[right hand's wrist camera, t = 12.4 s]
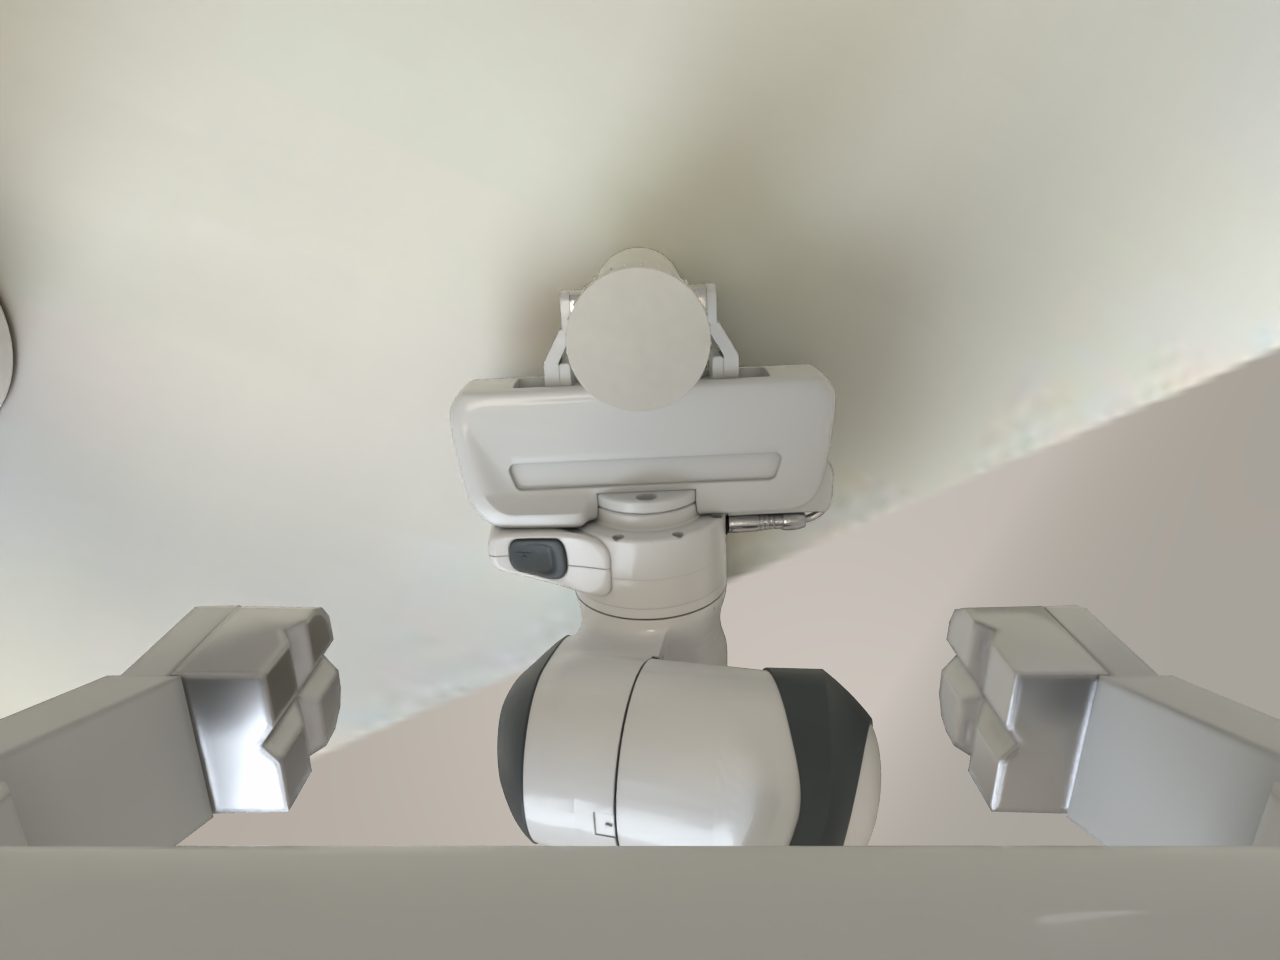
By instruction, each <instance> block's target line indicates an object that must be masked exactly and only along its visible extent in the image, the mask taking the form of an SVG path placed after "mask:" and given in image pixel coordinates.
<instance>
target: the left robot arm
mask: <svg viewBox="0 0 1280 960" xmlns="http://www.w3.org/2000/svg"><path fill="white" fill-rule="evenodd" d="M689 286H690V287H691V289H692V290H693V291H694V292H697V293H698V295H699V296H700V298H698V299H699V300H700V302H701V304H702V306H705V308H706V309H707V313H706V315H707V318H708V321H709V323H710V325H711V329H710V332H711V335H712V337H713V338H714V340H715V342H716V343H717V345H718V347H719V348H720V350H718V349H711V350H710V354H709V369H705V370H704V372H703V374H702V376H701V377H700V379H699V380H698V382H697V383H696V384H695V386H694V387H693V388H692V389H691V390H690V391H689V392H688V393H687V394H686V395H685V396H683V397H682V398H681V399H679V400H678V401H676V402H674V403H673V404H671V405H669V406H666V407H664V408H661V409H658V410H654V411H648V412H629V411H623V410H619V409H616V408H613V407H610V406H608V405H606V404H604V403H602V402H600V401H599V400H598V399H596V398H595V397H593V396H592V395H591V394H590V393H589V392H588V391H587V390H586V389H585V388H584V387H583V386H582V385H581V383H580V382H579V380H578V379H577V377H576V376H575V374H574V372H573V370H572V369H571V365H570V362H569V359H568V356H564V357H563V358H562V355H563V352H564V350H565V348H566V338H565V334H566V329H567V324H568V322H567V318H568V316H569V315H570V314H571V311H572V309H573V307H574V306H572V304H573V303H574V301H575V300H578V298H579V296H580V295H581V293H582V292H581V290H563V291H561V292H560V312H561V324H562V326H561V328H560V330H559V332H558V334H557V336H556V338H555V340H554V342H553V344H552V347H551V349H550V351H549V353H548V355H547V357H546V359H545V361H544V363H543V367H544V376H540V377H518V378H496V379H476V380H472V381H470V382H469V383H468V384H467V385H466V386H465V387H464V388H463V389H462V390H461V391H460V392H459V393H458V395H457V396H456V398H455V399H454V401H453V402H452V405H451V408H450V423H451V430H452V436H453V441H454V446H455V451H456V456H457V460H458V464H459V468H460V472H461V475H462V479H463V482H464V486H465V489H466V492H467V495H468V498H469V500H470V502H471V504H472V506H473V508H474V509H475V510H476V512H477V513H478V514H479V515H480V516H481V517H482V518H483V519H484V520H485V521H487V522H489V523H491V524H492V527H491V531H490V536H489V547H488V549H489V557H490V561H491V563H492V565H493V566H494V567H496V568H497V569H499V570H502V571H505V572H509V573H513V574H517V575H521V576H526V577H530V578H534V579H538V580H542V581H546V582H550V583H553V584H557V585H561V586H564V587H567V588H571V589H574V590H575V591H576V594H577V597H578V600H579V603H580V607H581V610H582V623H581V627H580V630H579V631H578V633H576V634H575V635H573V636H570V635H567V636H565V637H564V638H562V639H561V640H560V641H558V642H557V643H556V644H555V645H554V646H552V647H551V648H550V649H549V650H548V651H547V652H546V653H544V654H543V655H542V656H541V657H540V658H539V659H538V660H537V661H536V662H535V663H534V664H533V665H532V666H530V667H529V668H528V669H527V670H526V671H525V672H524V673H523V674H522V675H521V676H520V677H519V678H518V679H517V680H516V682H515V683H514V684H513V686H512V688H511V689H510V691H509V693H508V695H507V697H506V699H505V701H504V704H503V706H502V710H501V714H500V720H499V728H498V745H497V750H498V768H499V776H500V781H501V785H502V788H503V792H504V795H505V798H506V800H507V803H508V806H509V808H510V811H511V813H512V815H513V817H514V819H515V821H516V822H517V824H518V825H519V827H520V828H521V830H522V831H523V832H524V834H525V835H526V836H527V837H528V838H529V839H530V840H531V841H532V842H533V843H535V844H538V843H539V844H543V845H546V846H867V845H868V843H869V840H870V838H871V835H872V832H873V829H874V825H875V822H876V818H877V812H878V807H879V801H880V790H881V763H880V753H879V747H878V742H877V738H876V735H875V732H874V729H873V724H872V718H871V717H870V716H869V714H868V713H867V712H866V711H865V709H864V708H863V707H862V706H861V705H860V704H859V703H858V701H857V700H856V699H855V698H854V697H853V696H852V695H851V694H850V693H849V692H848V691H847V690H846V689H845V688H844V687H843V686H842V685H840V684H839V683H838V682H837V681H836V680H835V679H834V678H832V677H831V676H830V675H829V674H828V673H827V672H825V671H824V670H823V669H797V668H764V669H763V670H757V669H748V668H738V667H728V666H727V643H726V639H725V635H724V632H723V630H722V627H721V622H720V611H721V607H722V604H723V601H724V597H725V593H726V534H727V533H736V532H753V531H759V530H760V531H761V530H764V529H765V530H767V529H773V528H774V529H782V530H795V529H801V528H804V527H805V525H806V522H810V521H812V520H815V519H817V518H818V517H820V516H821V515H822V514H823V513H824V512H825V511H826V510H827V509H828V508H829V506H830V503H831V500H832V493H833V470H832V466H831V464H830V462H829V461H828V459H827V458H828V453H829V448H830V443H831V437H832V430H833V423H834V414H835V402H836V394H835V390H834V387H833V386H832V384H831V383H830V381H829V380H828V379H827V377H826V376H825V375H824V374H823V373H821V372H820V371H819V370H818V369H817V368H815V367H814V366H812V365H809V364H798V365H777V366H755V367H739V354H738V352H737V351H736V349H735V347H734V346H733V344H732V342H731V341H730V339H729V337H728V336H727V334H726V332H725V330H724V329H723V327H722V325H721V324H720V322H719V320H718V319H717V291H716V285H715V284H714V283H710V284H692V285H689ZM12 372H13V348H12V341H11V336H10V331H9V327H8V324H7V321H6V318H5V315H4V312H3V310H2V308H1V305H0V407H1V406H2V404H3V402H4V400H5V398H6V396H7V393H8V390H9V387H10V383H11V378H12ZM805 512H813V513H811V514H808V515H805ZM726 513H727V516H726Z"/></svg>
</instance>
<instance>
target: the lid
mask: <svg viewBox="0 0 1280 960" xmlns="http://www.w3.org/2000/svg"><path fill="white" fill-rule="evenodd" d="M581 292H582V293H581V295H580V296H579V298H578V300H575V301H574V303H573V304H572V306H574V307H573V309H572V311H571V314H570V315H569V316H568V318H567V322H568V324H567V329H566V334H565V338H566V350H567V351H566V354H567V355H568V359H569V362H570V365H571V369H572V370H573V372H574V374H575V376H576V377H577V379H578V380H579V382H580V383H581V385H582V386H583V387H584V388H585V389H586V390H587V391H588V392H589V393H590V394H591V395H592V396H593V397H595V398H596V399H598V400H599V401H600V402H602V403H604V404H606V405H608V406H610V407H613V408H616V409H619V410H623V411H629V412H648V411H654V410H658V409H661V408H664V407H666V406H669V405H671V404H673V403H674V402H676V401H678V400H679V399H681V398H682V397H683V396H685V395H686V394H687V393H688V392H689V391H690V390H691V389H692V388H693V387H694V386H695V384H696V383H697V382H698V380H699V379H700V377H701V376H702V374H703V372H704V370H705V367H706V365H707V362H708V361H709V354H710V347H711V345H712V341H711V332H710V329H711V325H710V323H709V321H708V318H707V315H706V313H707V309H706V308H705V306H702V304H701V302H700V300H699V299H698V298H700V296H699V295H698V293H697V292H694V291H693V290H692V289H691V287H690V286H689V283H688V281H687V280H685V281H684V280H683V279H681V278H680V277H678V276H677V275H676V274H675V271H673V270H672V271H671V272H670V271H668V270H666V269H664V268H661V267H660V265H659V264H657V265H656V266H654V265H650V264H643V262H641V263H640V264H628V265H627V263H624V265H622V266H619V267H616V268H613V269H612V268H611V267H610V268H608V271H606V272H604V273H603V274H601V275H600V276H597V275H596V276H595V277H594V279H593V281H592V282H591V283H590V284H589V285H588V286H587V287H585V286H584V287H583V289H582V290H581Z"/></svg>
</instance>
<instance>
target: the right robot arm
mask: <svg viewBox="0 0 1280 960" xmlns="http://www.w3.org/2000/svg"><path fill="white" fill-rule="evenodd" d="M332 641H333V634H332V629H331V624H330V619H329V615H328V614H327V613H326V612H325V611H324V609H323V608H318V607H264V606H243V607H242V606H240V605H229V606H203V607H195V608H194V609H193V610H191V611H190V612H189V613H188V614H187V615H186V616H185V617H184V618H183V619H182V620H181V621H180V622H178V623H177V624H176V625H175V626H174V627H173V628H172V629H171V630H170V631H169V632H168V633H166V634H165V635H164V636H163V637H162V638H161V639H160V640H159V641H158V642H157V643H156V644H155V645H153V646H152V647H151V648H150V649H149V650H148V651H147V652H146V653H145V654H144V655H143V656H142V657H140V658H139V659H138V660H137V661H136V662H135V663H134V664H133V665H132V666H131V667H130V668H129V669H127V670H126V671H125V672H124V673H123V674H122V675H121V676H105V677H103V678H100V679H98V680H96V681H93V682H91V683H88V684H86V685H83V686H81V687H78V688H76V689H74V690H71V691H69V692H66V693H64V694H61V695H59V696H56V697H54V698H51V699H49V700H47V701H44V702H42V703H39V704H37V705H34V706H32V707H29V708H27V709H24V710H22V711H20V712H17V713H15V714H12V715H10V716H7V717H5V718H2V719H0V960H1280V719H1277V718H1275V717H1272V716H1270V715H1267V714H1265V713H1263V712H1260V711H1258V710H1255V709H1253V708H1250V707H1248V706H1245V705H1243V704H1241V703H1238V702H1236V701H1233V700H1231V699H1228V698H1226V697H1223V696H1221V695H1219V694H1216V693H1214V692H1211V691H1209V690H1206V689H1204V688H1202V687H1199V686H1197V685H1194V684H1192V683H1189V682H1187V681H1184V680H1182V679H1179V678H1177V677H1175V676H1159V675H1158V674H1157V673H1156V672H1155V671H1154V670H1153V669H1152V668H1150V667H1149V666H1148V665H1147V664H1146V663H1145V662H1144V661H1143V660H1142V659H1141V658H1140V657H1139V656H1137V655H1136V654H1135V653H1134V652H1133V651H1132V650H1131V649H1130V648H1129V647H1128V646H1127V645H1126V644H1124V643H1123V642H1122V641H1121V640H1120V639H1119V638H1118V637H1117V636H1116V635H1115V634H1114V633H1113V632H1112V631H1110V630H1109V629H1108V628H1107V627H1106V626H1105V625H1104V624H1103V623H1102V622H1101V621H1100V620H1099V619H1097V618H1096V617H1095V616H1094V615H1093V614H1092V613H1091V612H1090V611H1089V610H1088V609H1087V608H1084V607H1080V606H1077V605H1066V606H1021V607H979V608H961V609H955V610H954V612H953V615H952V617H951V619H950V622H949V628H948V634H947V641H948V642H949V644H950V645H951V647H952V648H953V650H954V651H955V653H956V656H955V657H954V658H953V659H952V660H951V661H950V662H949V663H948V664H947V665H946V666H945V667H944V669H943V670H942V673H941V682H940V690H939V698H940V708H941V716H942V720H943V723H944V726H945V729H946V732H947V734H948V736H949V737H950V739H951V741H952V743H953V745H954V746H955V747H957V748H959V749H960V750H962V751H963V752H965V753H967V754H968V755H970V756H971V757H970V763H969V769H968V771H969V773H970V775H971V777H972V778H973V780H974V782H975V784H976V785H977V787H978V789H979V791H980V792H981V794H982V796H983V797H984V799H985V801H986V803H987V804H988V806H989V808H990V810H991V811H992V812H1028V813H1065V814H1067V818H1069V819H1070V820H1071V821H1073V822H1074V823H1075V824H1077V825H1078V826H1079V827H1081V828H1082V829H1083V830H1085V831H1086V832H1087V833H1089V834H1090V835H1091V836H1093V837H1094V838H1095V839H1097V840H1098V841H1099V842H1101V843H1102V844H1103V845H1105V846H176V845H177V844H178V843H180V842H181V841H182V840H184V839H185V838H186V837H188V836H189V835H190V834H192V833H193V832H194V831H196V830H197V829H198V828H200V827H201V826H202V825H204V824H205V823H206V822H207V821H209V820H210V819H211V818H213V814H214V813H250V812H286V811H289V810H290V808H291V806H292V805H293V803H294V801H295V799H296V798H297V796H298V794H299V792H300V791H301V789H302V787H303V785H304V784H305V782H306V780H307V778H308V777H309V775H310V773H311V771H312V769H311V763H310V757H309V756H310V755H312V754H313V753H315V752H317V751H318V750H320V749H321V748H323V747H325V746H326V745H327V743H328V741H329V739H330V737H331V735H332V734H333V732H334V730H335V726H336V722H337V718H338V714H339V710H340V691H341V687H340V680H339V673H338V670H337V669H336V667H335V666H334V665H333V664H332V663H331V662H330V661H329V660H328V659H327V658H326V657H325V656H324V653H325V652H326V650H327V648H328V647H329V645H330V644H331V642H332Z"/></svg>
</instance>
